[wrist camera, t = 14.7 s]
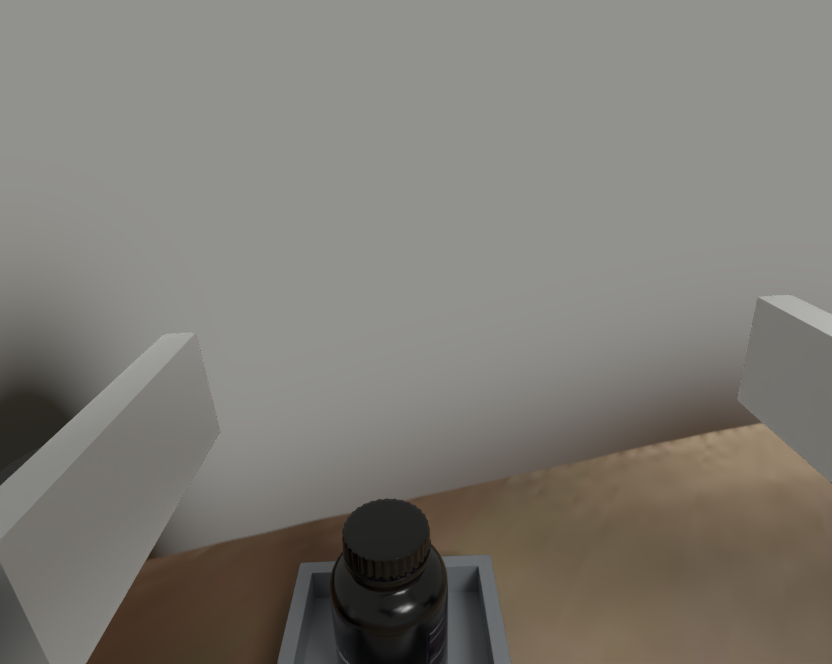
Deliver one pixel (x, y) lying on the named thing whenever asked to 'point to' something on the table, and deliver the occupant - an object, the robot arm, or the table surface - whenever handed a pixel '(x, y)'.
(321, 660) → the tray
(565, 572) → the table surface
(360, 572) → the supplement bottle
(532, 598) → the table surface
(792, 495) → the table surface
